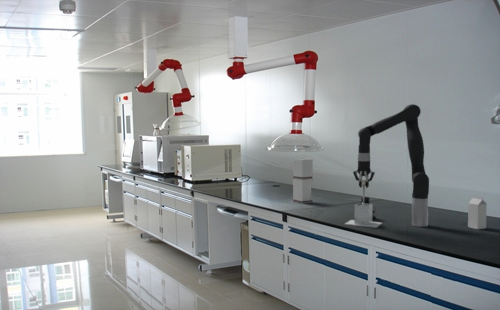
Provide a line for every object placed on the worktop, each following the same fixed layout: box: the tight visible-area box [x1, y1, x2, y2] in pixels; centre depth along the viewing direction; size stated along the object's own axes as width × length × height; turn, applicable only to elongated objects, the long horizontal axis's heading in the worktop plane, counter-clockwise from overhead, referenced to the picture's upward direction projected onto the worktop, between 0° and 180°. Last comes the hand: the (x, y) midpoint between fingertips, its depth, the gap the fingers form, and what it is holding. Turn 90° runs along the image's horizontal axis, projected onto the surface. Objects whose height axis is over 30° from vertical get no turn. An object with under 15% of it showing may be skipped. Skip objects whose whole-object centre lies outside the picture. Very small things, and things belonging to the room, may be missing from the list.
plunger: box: [361, 179, 369, 206], centre depth 303 cm, size 7×7×17 cm
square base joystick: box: [353, 202, 373, 225], centre depth 304 cm, size 9×9×12 cm
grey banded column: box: [292, 158, 314, 205], centre depth 390 cm, size 11×11×35 cm
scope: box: [360, 196, 377, 220], centre depth 323 cm, size 8×14×10 cm
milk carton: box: [467, 195, 487, 230], centre depth 291 cm, size 7×7×19 cm
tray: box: [344, 219, 383, 229], centre depth 304 cm, size 20×14×1 cm
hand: (363, 187), depth 303 cm, fingers closed on plunger, 3 cm apart
